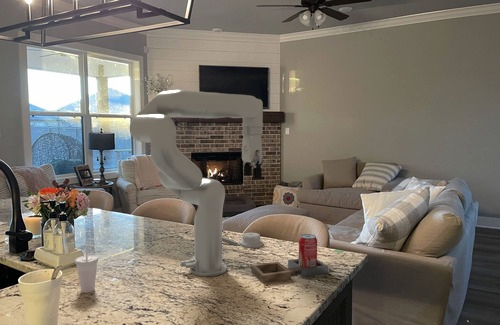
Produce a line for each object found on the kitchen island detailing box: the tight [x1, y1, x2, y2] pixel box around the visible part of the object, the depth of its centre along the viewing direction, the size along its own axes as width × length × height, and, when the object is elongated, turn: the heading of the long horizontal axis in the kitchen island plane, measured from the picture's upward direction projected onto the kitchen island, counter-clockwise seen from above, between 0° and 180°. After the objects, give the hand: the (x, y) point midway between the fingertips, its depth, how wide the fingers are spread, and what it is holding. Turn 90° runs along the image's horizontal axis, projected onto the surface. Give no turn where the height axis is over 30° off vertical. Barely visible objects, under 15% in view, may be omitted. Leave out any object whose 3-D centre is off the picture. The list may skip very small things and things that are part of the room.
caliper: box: [222, 236, 241, 247], centre depth 160 cm, size 20×1×6 cm, turn 66°
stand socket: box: [250, 261, 292, 284], centre depth 124 cm, size 10×10×2 cm
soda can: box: [298, 233, 318, 268], centre depth 128 cm, size 6×6×12 cm
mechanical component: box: [238, 232, 264, 249], centre depth 158 cm, size 10×4×10 cm
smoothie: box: [74, 244, 99, 294], centre depth 111 cm, size 6×6×14 cm
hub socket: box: [286, 258, 329, 278], centre depth 128 cm, size 14×10×2 cm
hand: (252, 176), depth 142 cm, fingers open, 9 cm apart
